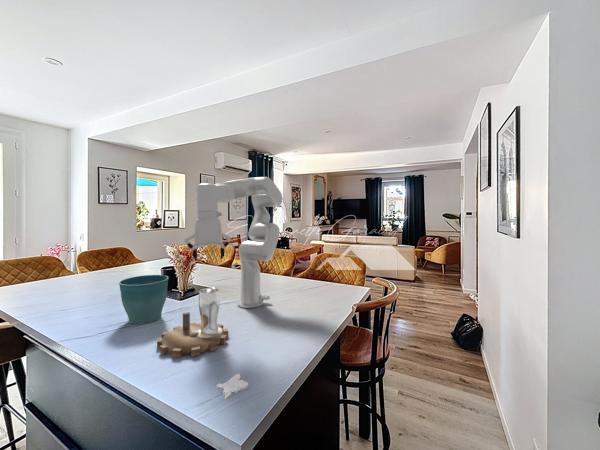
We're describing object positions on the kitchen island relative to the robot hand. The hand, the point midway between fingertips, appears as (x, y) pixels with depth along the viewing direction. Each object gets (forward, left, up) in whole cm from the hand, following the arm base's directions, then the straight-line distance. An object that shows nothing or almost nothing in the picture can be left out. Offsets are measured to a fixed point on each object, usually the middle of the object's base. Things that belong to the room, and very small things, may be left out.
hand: (209, 259), depth 107 cm
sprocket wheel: (+5, +12, -27) cm, 30 cm away
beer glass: (0, +12, -24) cm, 27 cm away
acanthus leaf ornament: (-7, +42, -28) cm, 51 cm away
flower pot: (+26, -15, -27) cm, 40 cm away
